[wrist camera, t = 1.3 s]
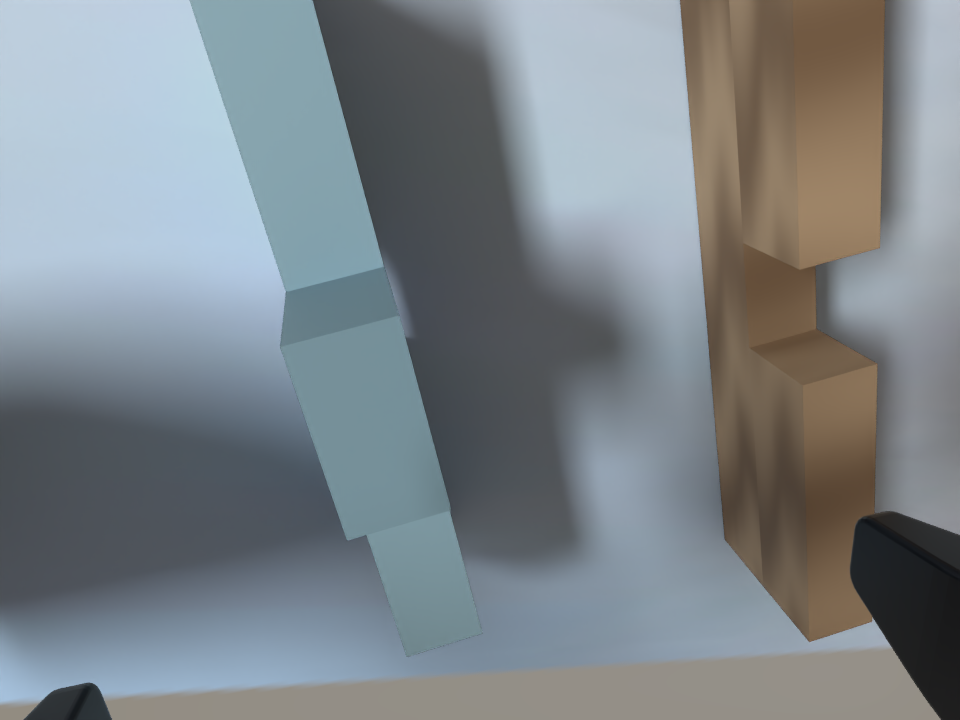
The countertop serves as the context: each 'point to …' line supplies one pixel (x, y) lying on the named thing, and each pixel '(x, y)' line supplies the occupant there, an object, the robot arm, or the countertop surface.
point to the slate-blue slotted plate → (324, 244)
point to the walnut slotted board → (788, 281)
